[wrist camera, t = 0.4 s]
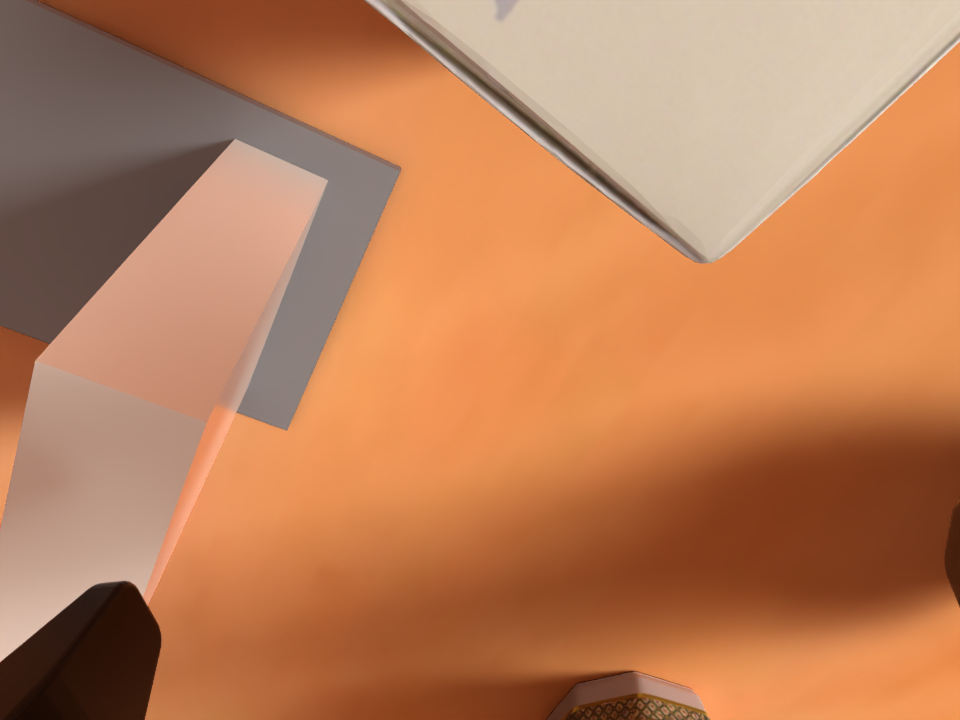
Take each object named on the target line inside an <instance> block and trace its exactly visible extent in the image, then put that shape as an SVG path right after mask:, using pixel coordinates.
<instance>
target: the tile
mask: <svg viewBox="0 0 960 720" xmlns="http://www.w3.org/2000/svg"><path fill="white" fill-rule="evenodd" d="M327 182H328V180H326V179H324V178H322V177H320V176H317V175H315V174H313V173H311V172H308V171H306V170H304V169H302V168H299V167H297V166H295V165H293V164H290V163H288V162H286V161H284V160H281V159H279V158H277V157H275V156H272V155H270V154H268V153H266V152H264V151H261V150H259V149H257V148H255V147H252V146H250V145H248V144H246V143H243V142H241V141H239V140H237V139H234V141H233V142H232V143H231V144H230V145H229V146H228V147H227V148H226V149H225V151H224V152H223V153H222V154H221V155H220V156H219V157H218V158H217V159H216V161H215V162H214V163H213V164H212V165H211V166H210V167H209V168H208V169H207V171H206V172H205V173H204V174H203V175H202V176H201V177H200V178H199V179H198V180H197V182H196V183H195V184H194V185H193V186H192V187H191V188H190V189H189V190H188V192H187V193H186V194H185V195H184V196H183V197H182V198H181V199H180V200H179V202H178V203H177V204H176V205H175V206H174V207H173V208H172V209H171V210H170V212H169V213H168V214H167V215H166V216H165V217H164V218H163V219H162V220H161V222H160V223H159V224H158V225H157V226H156V227H155V228H154V229H153V230H152V232H151V233H150V234H149V235H148V236H147V237H146V238H145V239H144V240H143V242H142V243H141V244H140V245H139V246H138V247H137V248H136V249H135V250H134V252H133V253H132V254H131V255H130V256H129V257H128V258H127V259H126V260H125V262H124V263H123V264H122V265H121V266H120V267H119V268H118V269H117V270H116V271H115V273H114V274H113V275H112V276H111V277H110V278H109V279H108V280H107V281H106V283H105V284H104V285H103V286H102V287H101V288H100V289H99V290H98V291H97V293H96V294H95V295H94V296H93V297H92V298H91V299H90V300H89V301H88V303H87V304H86V305H85V306H84V307H83V308H82V309H81V310H80V311H79V313H78V314H77V315H76V316H75V317H74V318H73V319H72V320H71V321H70V323H69V324H68V325H67V326H66V327H65V328H64V329H63V330H62V331H61V333H60V334H59V335H58V336H57V337H56V338H55V339H54V340H53V341H52V343H51V344H50V345H49V346H48V347H47V348H46V349H45V350H44V351H43V352H42V354H41V355H40V356H39V357H38V358H37V359H36V360H35V364H34V369H33V374H32V379H31V383H30V388H29V393H28V398H27V403H26V408H25V412H24V417H23V422H22V427H21V432H20V437H19V442H18V446H17V451H16V456H15V461H14V466H13V471H12V475H11V480H10V485H9V490H8V495H7V500H6V504H5V509H4V514H3V519H2V524H1V529H0V662H1V661H2V660H3V659H4V658H6V657H7V656H8V655H9V654H10V653H12V652H13V651H14V650H15V649H16V648H18V647H19V646H20V645H21V644H22V643H24V642H25V641H26V640H27V639H29V638H30V637H31V636H32V635H33V634H35V633H36V632H37V631H38V630H39V629H41V628H42V627H43V626H44V625H45V624H47V623H48V622H49V621H50V620H51V619H53V618H54V617H55V616H56V615H57V614H59V613H60V612H61V611H62V610H63V609H65V608H66V607H67V606H68V605H70V604H71V603H72V602H73V601H74V600H76V599H77V598H78V597H79V596H80V595H82V594H83V593H84V592H85V591H86V590H88V589H89V588H90V587H92V586H94V585H96V584H99V583H106V582H116V581H130V582H131V583H133V584H134V585H136V587H137V588H138V589H139V591H140V593H141V595H142V597H143V598H144V600H145V602H146V604H147V605H148V604H149V602H150V600H151V598H152V596H153V593H154V591H155V589H156V587H157V585H158V582H159V580H160V578H161V576H162V574H163V572H164V569H165V567H166V565H167V563H168V561H169V558H170V556H171V554H172V552H173V550H174V548H175V545H176V543H177V541H178V539H179V537H180V534H181V532H182V530H183V528H184V526H185V524H186V521H187V519H188V517H189V515H190V513H191V510H192V508H193V506H194V504H195V502H196V499H197V497H198V495H199V493H200V491H201V489H202V486H203V484H204V482H205V480H206V478H207V475H208V473H209V471H210V469H211V467H212V465H213V462H214V460H215V458H216V456H217V454H218V451H219V449H220V447H221V445H222V443H223V441H224V438H225V436H226V434H227V432H228V430H229V427H230V425H231V423H232V421H233V419H234V417H235V414H236V412H237V410H238V408H239V406H240V403H241V401H242V399H243V397H244V395H245V393H246V390H247V388H248V386H249V383H250V381H251V378H252V375H253V373H254V370H255V368H256V365H257V363H258V360H259V357H260V355H261V352H262V350H263V347H264V345H265V342H266V339H267V337H268V334H269V332H270V329H271V327H272V324H273V321H274V319H275V316H276V314H277V311H278V309H279V306H280V303H281V301H282V298H283V296H284V293H285V291H286V288H287V285H288V283H289V280H290V278H291V275H292V272H293V270H294V267H295V265H296V262H297V260H298V257H299V254H300V252H301V249H302V247H303V244H304V242H305V239H306V236H307V234H308V231H309V229H310V226H311V224H312V221H313V218H314V216H315V213H316V211H317V208H318V206H319V203H320V200H321V198H322V195H323V193H324V190H325V188H326V185H327Z"/></svg>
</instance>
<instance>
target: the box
mask: <svg viewBox="0 0 960 720" xmlns="http://www.w3.org/2000/svg"><path fill="white" fill-rule="evenodd" d="M364 1H365V2H367V3H368V4H369V5H370V6H372V7H373V8H374V9H375V10H377V11H378V12H379V13H380V14H382V15H383V16H384V17H385V18H387V19H388V20H389V21H390V22H391V23H393V24H394V25H395V26H396V27H398V28H399V29H400V30H401V31H403V32H404V33H405V34H406V35H408V36H409V37H410V38H411V39H412V40H414V41H415V42H416V43H417V44H418V45H419V46H421V47H422V48H423V49H424V50H425V51H427V52H428V53H429V54H430V55H431V56H432V57H434V58H435V59H436V60H437V61H438V62H440V63H441V64H442V65H443V66H444V67H445V68H447V69H448V70H449V71H450V72H451V73H453V74H454V75H455V76H456V77H457V78H459V79H460V80H461V81H462V82H464V83H465V84H466V85H467V86H468V87H470V88H471V89H472V90H473V91H474V92H476V93H477V94H478V95H479V96H481V97H482V98H483V99H484V100H485V101H487V102H488V103H489V104H490V105H492V106H493V107H494V108H495V109H496V110H498V111H499V112H500V113H501V114H503V115H504V116H505V117H506V118H508V119H509V120H510V121H511V122H513V123H514V124H515V125H516V126H517V127H519V128H520V129H521V130H522V131H524V132H525V133H526V134H527V135H529V136H530V137H531V138H532V139H533V140H535V141H536V142H537V143H538V144H540V145H541V146H542V147H543V148H545V149H546V150H547V151H548V152H550V153H551V154H552V155H553V156H555V157H556V158H557V159H558V160H560V161H561V162H562V163H563V164H565V165H566V166H567V167H568V168H570V169H571V170H572V171H573V172H575V173H576V174H577V175H579V176H580V177H581V178H582V179H584V180H585V181H586V182H588V183H589V184H590V185H591V186H593V187H594V188H595V189H597V190H598V191H599V192H601V193H602V194H603V195H605V196H606V197H607V198H609V199H610V200H611V201H613V202H614V203H615V204H616V205H618V206H619V207H620V208H621V209H623V210H624V211H625V212H627V213H628V214H629V215H631V216H632V217H633V218H635V219H636V220H637V221H639V222H640V223H642V224H643V225H645V226H646V227H648V228H649V229H650V230H652V231H653V232H654V233H655V234H657V235H658V236H659V237H660V238H662V239H663V240H664V241H665V242H667V243H668V244H669V245H671V246H672V247H673V248H675V249H676V250H677V251H679V252H680V253H681V254H683V255H684V256H686V257H687V258H689V259H691V260H692V261H694V262H696V263H712V262H714V261H716V260H718V259H720V258H721V257H723V256H724V255H725V254H727V253H728V252H730V251H731V250H732V249H733V248H735V247H736V246H737V245H738V244H739V243H740V242H741V241H742V240H743V239H745V238H746V237H747V236H748V235H749V234H750V233H751V232H752V231H754V230H755V229H756V228H757V227H758V226H759V225H760V224H761V223H763V222H764V221H765V220H766V219H767V218H768V217H769V216H770V215H771V214H773V213H774V212H775V211H776V210H777V209H778V208H779V207H780V206H782V205H783V204H784V203H785V202H786V201H787V200H788V199H789V198H790V197H791V196H793V195H794V194H795V193H796V192H797V191H798V190H799V189H800V188H802V187H803V186H804V185H805V184H806V183H808V182H809V181H810V180H811V179H812V178H813V177H814V176H815V175H816V174H818V173H819V172H820V171H821V170H822V169H823V168H824V167H825V166H826V165H827V164H828V163H829V162H830V161H831V160H832V159H833V158H834V157H835V156H836V155H837V154H838V153H840V152H841V151H842V150H843V149H844V148H845V147H846V146H847V145H849V144H850V143H851V142H852V141H853V140H854V139H855V138H856V137H857V136H858V135H860V134H861V133H862V132H863V131H864V130H865V129H866V128H867V127H868V126H869V125H870V124H871V123H872V122H873V121H875V120H876V119H877V118H878V117H879V116H880V115H881V114H882V113H883V112H884V111H885V110H886V109H887V108H888V107H890V106H891V105H892V104H893V103H894V102H895V101H896V100H897V99H898V98H899V97H900V96H901V95H902V94H904V93H905V92H906V91H907V90H908V89H909V88H910V87H911V86H912V85H913V84H914V83H915V82H917V81H918V80H919V79H920V78H921V77H922V76H923V75H924V74H925V73H926V72H928V71H929V70H930V69H931V68H932V67H933V66H934V65H935V64H936V63H937V62H938V61H939V60H940V59H942V58H943V57H944V56H945V55H946V54H947V53H948V52H949V51H950V50H951V49H952V48H953V47H954V46H955V45H956V44H958V43H959V42H960V0H364Z"/></svg>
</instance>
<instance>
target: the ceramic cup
mask: <svg viewBox="0 0 960 720" xmlns="http://www.w3.org/2000/svg"><path fill="white" fill-rule="evenodd" d="M546 720H710V718H709V716H708V715H707V713H706V710H705V708H704V706H703V704H702V701H701V699H700V697H699V696H698V695H697V694H696V693H694V691H693V690H692V689H690V688H687V687H684V686H681V685H678V684H675V683H671V682H668V681H665V680H662V679H658V678H655V677H652V676H649V675H646V674H642V673H639V672H629V673H624V674H620V675H615V676H611V677H606V678H602V679H597V680H592V681H588V682H583V683H579V684H576V685H575V686H574V687H573V688H572V689H571V690H570V691H569V693H568V694H567V695H566V696H565V697H564V699H563V700H562V701H561V702H560V703H559V705H558V706H557V707H556V708H555V709H554V711H553V712H552V713H551V714H550V715H549V717H548V718H547V719H546Z"/></svg>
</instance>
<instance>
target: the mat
mask: <svg viewBox="0 0 960 720" xmlns="http://www.w3.org/2000/svg"><path fill="white" fill-rule="evenodd" d="M234 139H237V140H239V141H241V142H243V143H246V144H248V145H250V146H252V147H255V148H257V149H259V150H261V151H264V152H266V153H268V154H270V155H272V156H275V157H277V158H279V159H281V160H284V161H286V162H288V163H290V164H293V165H295V166H297V167H299V168H302V169H304V170H306V171H308V172H311V173H313V174H315V175H317V176H320V177H322V178H324V179H326V180H328V182H327V185H326V188H325V190H324V193H323V195H322V198H321V200H320V203H319V206H318V208H317V211H316V213H315V216H314V218H313V221H312V224H311V226H310V229H309V231H308V234H307V236H306V239H305V242H304V244H303V247H302V249H301V252H300V254H299V257H298V260H297V262H296V265H295V267H294V270H293V272H292V275H291V278H290V280H289V283H288V285H287V288H286V291H285V293H284V296H283V298H282V301H281V303H280V306H279V309H278V311H277V314H276V316H275V319H274V321H273V324H272V327H271V329H270V332H269V334H268V337H267V339H266V342H265V345H264V347H263V350H262V352H261V355H260V357H259V360H258V363H257V365H256V368H255V370H254V373H253V375H252V378H251V381H250V383H249V386H248V388H247V390H246V393H245V395H244V397H243V399H242V401H241V403H240V406H239V408H238V410H237V413H240V414H243V415H246V416H248V417H251V418H254V419H256V420H259V421H262V422H265V423H267V424H270V425H273V426H276V427H278V428H281V429H284V430H286V431H287V430H288V427H289V425H290V423H291V420H292V418H293V416H294V414H295V411H296V409H297V407H298V404H299V402H300V400H301V397H302V395H303V393H304V391H305V388H306V386H307V384H308V381H309V379H310V377H311V375H312V372H313V370H314V368H315V365H316V363H317V361H318V359H319V356H320V354H321V352H322V349H323V347H324V345H325V343H326V340H327V338H328V336H329V333H330V331H331V329H332V327H333V324H334V322H335V320H336V317H337V315H338V313H339V311H340V308H341V306H342V304H343V301H344V299H345V297H346V295H347V292H348V290H349V288H350V285H351V283H352V281H353V279H354V276H355V274H356V272H357V269H358V267H359V265H360V263H361V260H362V258H363V256H364V253H365V251H366V249H367V247H368V244H369V242H370V240H371V237H372V235H373V233H374V231H375V228H376V226H377V224H378V221H379V219H380V217H381V215H382V212H383V210H384V208H385V205H386V203H387V201H388V198H389V196H390V194H391V192H392V189H393V187H394V185H395V182H396V180H397V178H398V176H399V173H400V171H401V167H399V166H397V165H395V164H392V163H390V162H388V161H386V160H384V159H382V158H379V157H377V156H375V155H373V154H371V153H369V152H366V151H364V150H362V149H360V148H358V147H355V146H353V145H351V144H349V143H347V142H345V141H342V140H340V139H338V138H336V137H334V136H331V135H329V134H327V133H325V132H323V131H321V130H318V129H316V128H314V127H312V126H310V125H307V124H305V123H303V122H301V121H299V120H297V119H294V118H292V117H290V116H288V115H286V114H283V113H281V112H279V111H277V110H275V109H273V108H270V107H268V106H266V105H264V104H262V103H259V102H257V101H255V100H253V99H251V98H249V97H246V96H244V95H242V94H240V93H238V92H235V91H233V90H231V89H229V88H227V87H225V86H222V85H220V84H218V83H216V82H214V81H211V80H209V79H207V78H205V77H203V76H201V75H198V74H196V73H194V72H192V71H190V70H188V69H185V68H183V67H181V66H179V65H177V64H174V63H172V62H170V61H168V60H166V59H164V58H161V57H159V56H157V55H155V54H153V53H150V52H148V51H146V50H144V49H142V48H140V47H137V46H135V45H133V44H131V43H129V42H126V41H124V40H122V39H120V38H118V37H116V36H113V35H111V34H109V33H107V32H105V31H102V30H100V29H98V28H96V27H94V26H92V25H89V24H87V23H85V22H83V21H81V20H78V19H76V18H74V17H72V16H70V15H68V14H65V13H63V12H61V11H59V10H57V9H54V8H52V7H50V6H48V5H46V4H44V3H41V2H39V1H37V0H0V326H3V327H5V328H8V329H11V330H14V331H16V332H19V333H22V334H24V335H27V336H30V337H33V338H35V339H38V340H41V341H44V342H46V343H49V344H51V343H52V341H53V340H54V339H55V338H56V337H57V336H58V335H59V334H60V333H61V331H62V330H63V329H64V328H65V327H66V326H67V325H68V324H69V323H70V321H71V320H72V319H73V318H74V317H75V316H76V315H77V314H78V313H79V311H80V310H81V309H82V308H83V307H84V306H85V305H86V304H87V303H88V301H89V300H90V299H91V298H92V297H93V296H94V295H95V294H96V293H97V291H98V290H99V289H100V288H101V287H102V286H103V285H104V284H105V283H106V281H107V280H108V279H109V278H110V277H111V276H112V275H113V274H114V273H115V271H116V270H117V269H118V268H119V267H120V266H121V265H122V264H123V263H124V262H125V260H126V259H127V258H128V257H129V256H130V255H131V254H132V253H133V252H134V250H135V249H136V248H137V247H138V246H139V245H140V244H141V243H142V242H143V240H144V239H145V238H146V237H147V236H148V235H149V234H150V233H151V232H152V230H153V229H154V228H155V227H156V226H157V225H158V224H159V223H160V222H161V220H162V219H163V218H164V217H165V216H166V215H167V214H168V213H169V212H170V210H171V209H172V208H173V207H174V206H175V205H176V204H177V203H178V202H179V200H180V199H181V198H182V197H183V196H184V195H185V194H186V193H187V192H188V190H189V189H190V188H191V187H192V186H193V185H194V184H195V183H196V182H197V180H198V179H199V178H200V177H201V176H202V175H203V174H204V173H205V172H206V171H207V169H208V168H209V167H210V166H211V165H212V164H213V163H214V162H215V161H216V159H217V158H218V157H219V156H220V155H221V154H222V153H223V152H224V151H225V149H226V148H227V147H228V146H229V145H230V144H231V143H232V142H233V141H234Z"/></svg>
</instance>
